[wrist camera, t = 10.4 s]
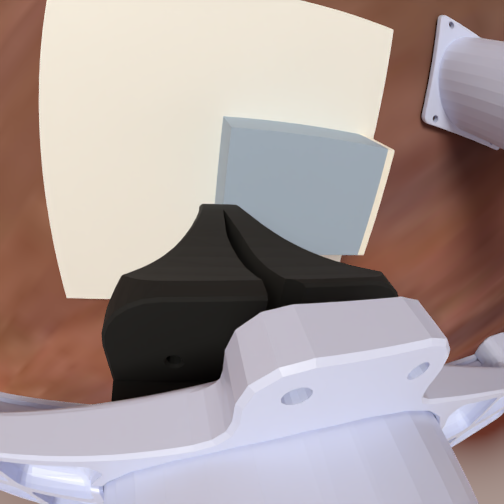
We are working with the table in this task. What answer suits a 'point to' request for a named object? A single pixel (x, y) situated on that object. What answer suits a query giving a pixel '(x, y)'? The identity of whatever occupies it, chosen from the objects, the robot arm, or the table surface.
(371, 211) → the block
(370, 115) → the tile
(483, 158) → the table surface
